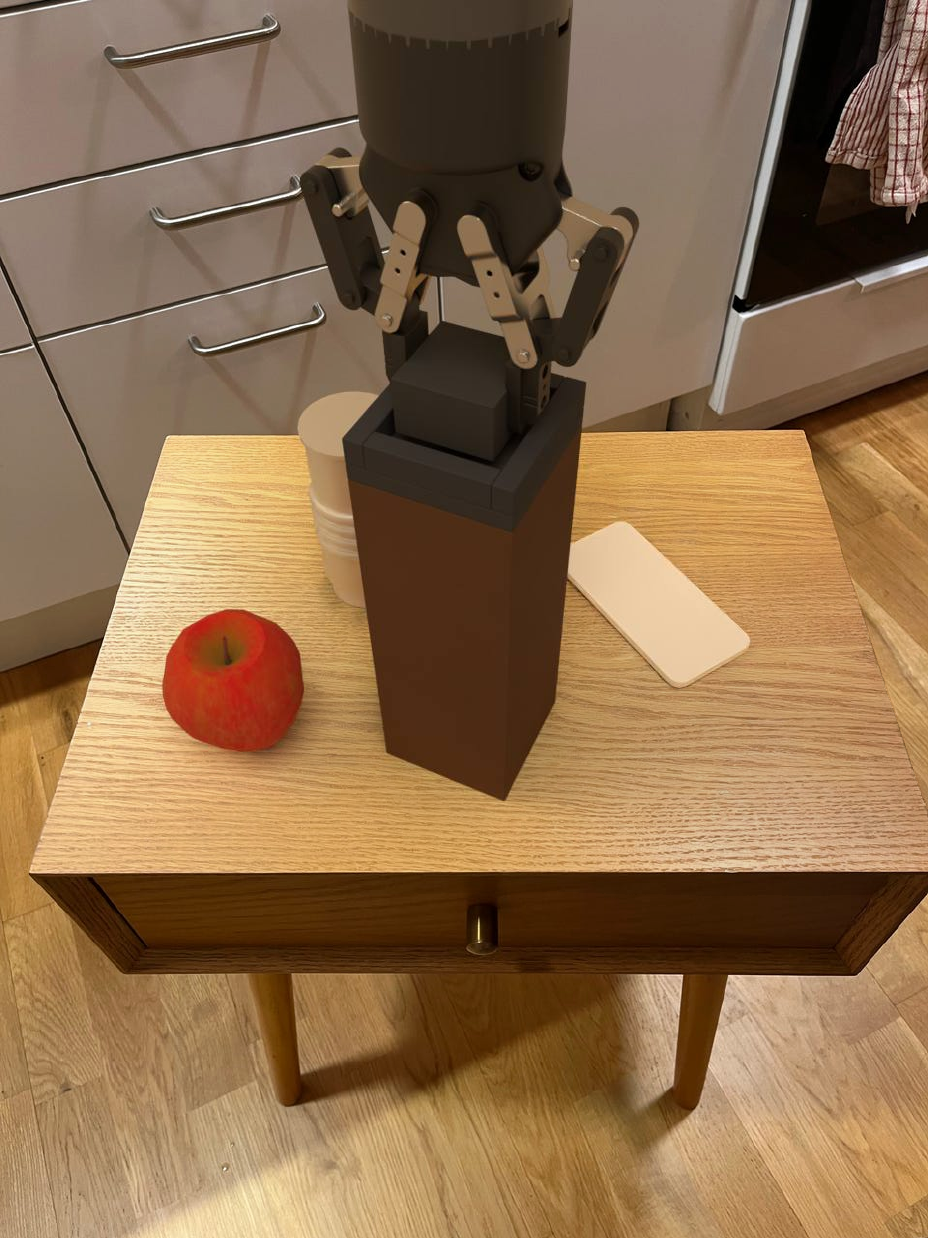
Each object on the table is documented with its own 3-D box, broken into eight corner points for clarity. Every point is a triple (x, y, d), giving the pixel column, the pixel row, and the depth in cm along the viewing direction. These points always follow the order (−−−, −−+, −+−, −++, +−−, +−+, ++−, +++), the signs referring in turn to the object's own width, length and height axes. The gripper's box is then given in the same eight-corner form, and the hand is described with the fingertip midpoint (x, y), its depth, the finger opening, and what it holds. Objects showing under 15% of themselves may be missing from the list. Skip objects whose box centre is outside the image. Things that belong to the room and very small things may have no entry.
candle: (395, 536, 77) (380, 379, 65) (428, 595, 73) (417, 439, 61) (313, 562, 75) (283, 405, 64) (342, 624, 71) (314, 469, 60)
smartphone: (677, 687, 66) (549, 554, 74) (675, 693, 67) (549, 560, 75) (756, 641, 68) (624, 517, 77) (754, 648, 69) (623, 524, 77)
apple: (180, 795, 62) (133, 697, 54) (199, 688, 67) (159, 585, 59) (313, 789, 62) (286, 691, 54) (321, 683, 68) (298, 579, 59)
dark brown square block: (536, 399, 46) (539, 345, 44) (493, 462, 43) (494, 407, 41) (443, 373, 47) (441, 319, 45) (395, 432, 44) (390, 378, 42)
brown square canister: (555, 702, 66) (587, 381, 46) (504, 802, 61) (514, 491, 41) (443, 660, 69) (427, 338, 49) (386, 753, 64) (341, 438, 44)
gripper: (214, -6, 32) (293, 412, 45) (627, 60, 27) (581, 501, 40) (331, -70, 36) (372, 329, 49) (703, -21, 32) (640, 400, 45)
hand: (467, 405), depth 45 cm, fingers closed on dark brown square block, 5 cm apart
